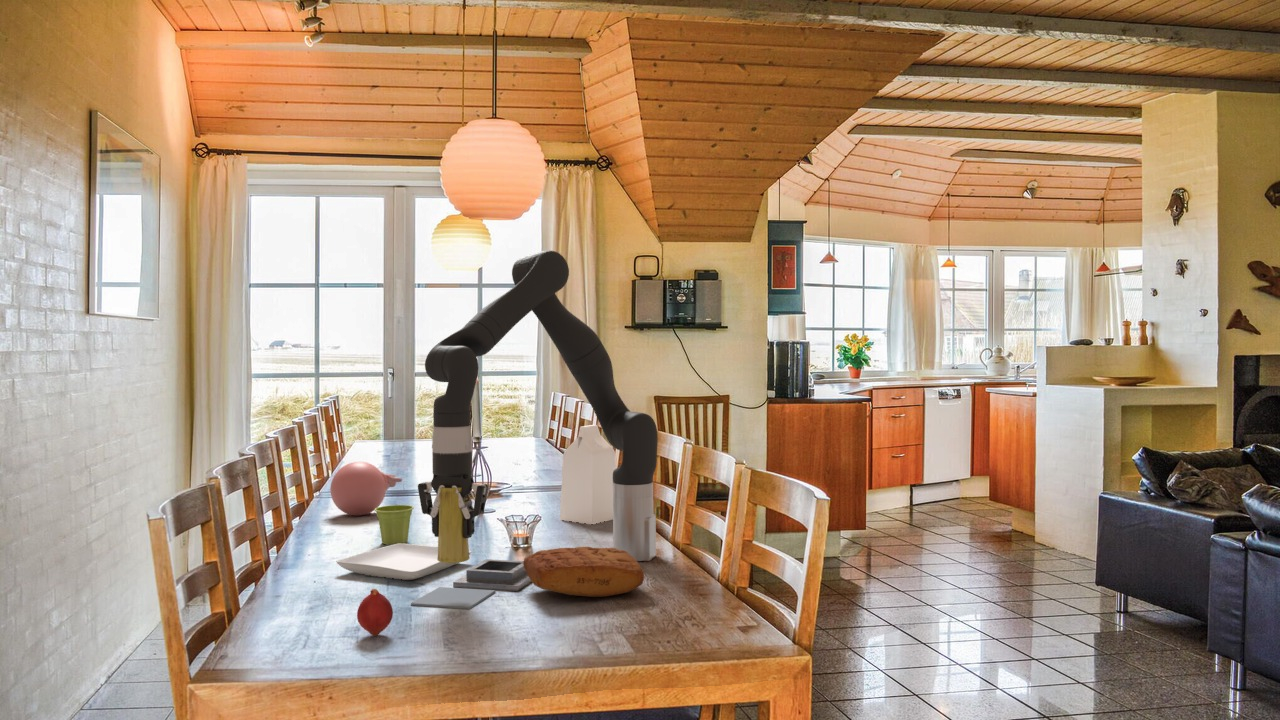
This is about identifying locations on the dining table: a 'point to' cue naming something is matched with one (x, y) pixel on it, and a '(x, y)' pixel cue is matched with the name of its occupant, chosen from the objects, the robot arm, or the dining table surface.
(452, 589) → the pad
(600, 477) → the milk
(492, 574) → the grey square socket base
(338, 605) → the dining table surface
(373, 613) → the onion
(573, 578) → the cuneiform tablet
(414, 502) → the dining table surface
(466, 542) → the vase
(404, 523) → the plant pot
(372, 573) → the salad plate
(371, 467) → the pink balloon
